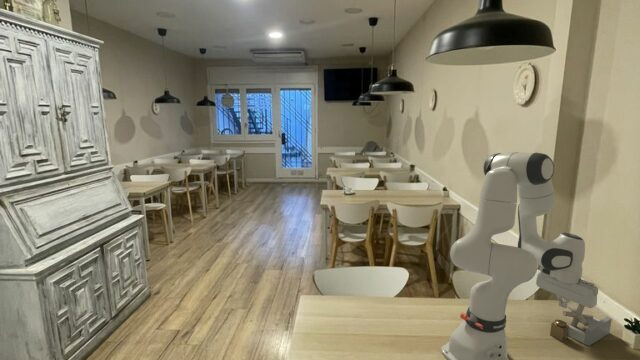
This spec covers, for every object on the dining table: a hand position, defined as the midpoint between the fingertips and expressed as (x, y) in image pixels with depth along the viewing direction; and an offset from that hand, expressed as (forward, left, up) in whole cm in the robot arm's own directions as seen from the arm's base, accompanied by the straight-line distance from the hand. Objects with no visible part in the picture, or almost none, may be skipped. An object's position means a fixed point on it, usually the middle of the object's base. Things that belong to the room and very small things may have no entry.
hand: (562, 306), depth 135 cm
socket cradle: (-1, -7, -6) cm, 9 cm away
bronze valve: (-12, -5, -6) cm, 14 cm away
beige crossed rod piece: (0, -4, -6) cm, 8 cm away
